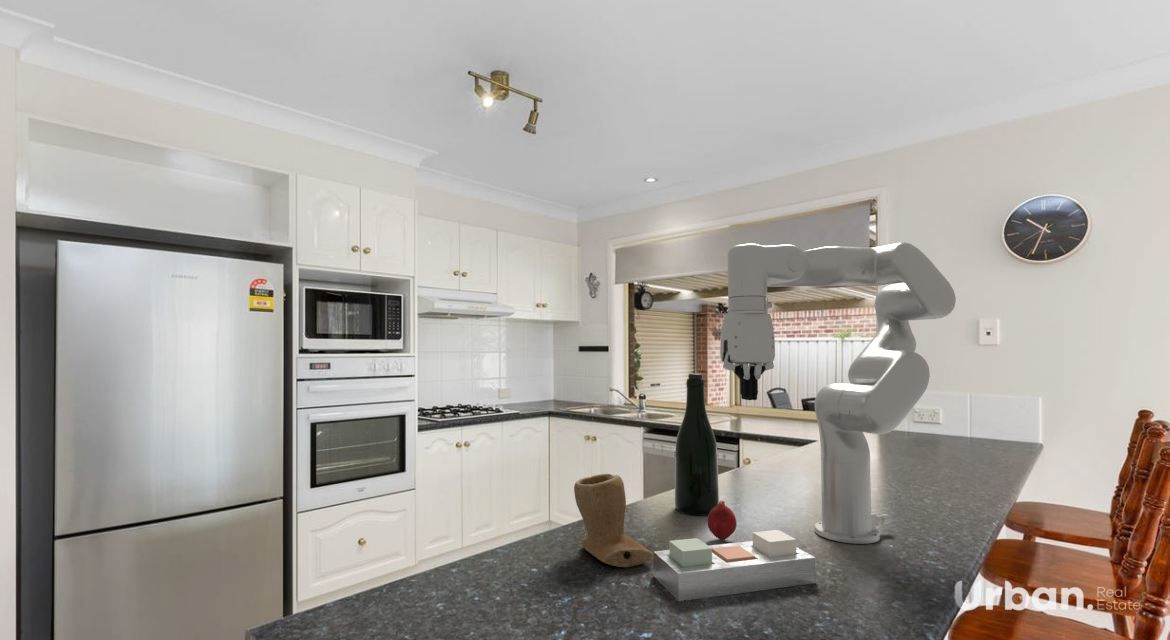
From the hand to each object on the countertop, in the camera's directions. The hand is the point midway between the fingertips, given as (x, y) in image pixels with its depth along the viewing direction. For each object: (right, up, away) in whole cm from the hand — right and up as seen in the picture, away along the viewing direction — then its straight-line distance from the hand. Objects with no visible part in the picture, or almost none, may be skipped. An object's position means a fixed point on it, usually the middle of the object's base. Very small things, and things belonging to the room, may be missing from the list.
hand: (749, 399), depth 112 cm
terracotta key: (-7, -27, -16) cm, 32 cm away
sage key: (-15, -25, -18) cm, 34 cm away
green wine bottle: (-5, -31, +25) cm, 40 cm away
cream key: (0, -25, -14) cm, 28 cm away
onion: (-5, -30, +4) cm, 30 cm away
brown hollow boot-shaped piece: (-28, -29, -5) cm, 41 cm away
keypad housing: (-7, -28, -16) cm, 33 cm away
